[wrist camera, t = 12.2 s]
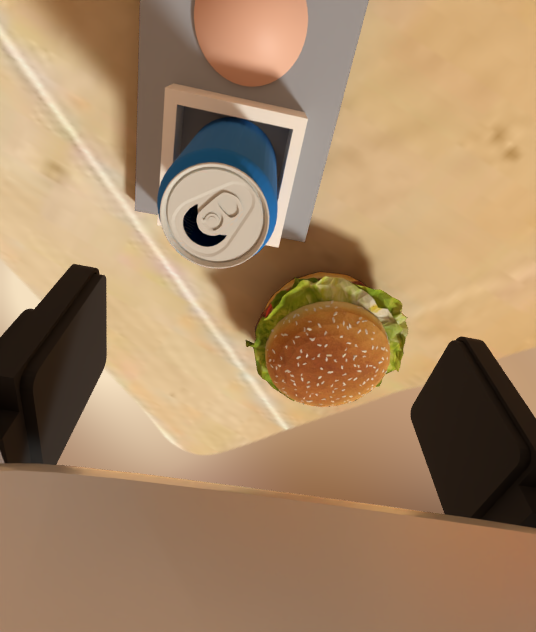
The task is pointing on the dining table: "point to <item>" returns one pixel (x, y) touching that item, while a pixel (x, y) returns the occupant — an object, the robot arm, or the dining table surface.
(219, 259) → the beverage can
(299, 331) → the food
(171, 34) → the board
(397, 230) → the dining table surface
